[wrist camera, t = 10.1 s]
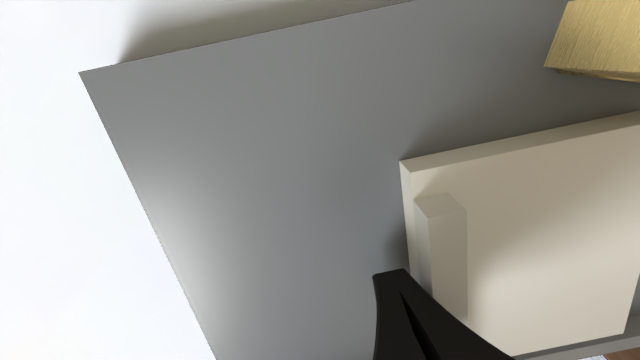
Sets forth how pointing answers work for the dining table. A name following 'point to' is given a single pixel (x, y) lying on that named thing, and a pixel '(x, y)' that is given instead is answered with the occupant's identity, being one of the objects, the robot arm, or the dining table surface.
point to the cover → (531, 232)
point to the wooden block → (624, 354)
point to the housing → (329, 158)
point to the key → (598, 40)
